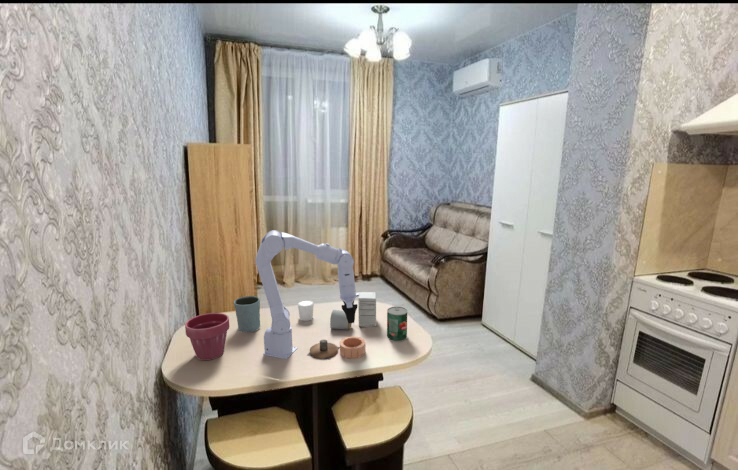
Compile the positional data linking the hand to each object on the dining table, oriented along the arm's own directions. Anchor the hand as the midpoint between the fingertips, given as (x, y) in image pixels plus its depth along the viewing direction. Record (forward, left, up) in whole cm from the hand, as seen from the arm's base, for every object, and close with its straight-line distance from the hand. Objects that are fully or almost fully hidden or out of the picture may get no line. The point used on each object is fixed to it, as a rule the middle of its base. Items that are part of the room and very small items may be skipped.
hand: (350, 318), depth 137 cm
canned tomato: (+15, +12, -11) cm, 22 cm away
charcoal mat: (-7, -8, -11) cm, 15 cm away
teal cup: (-45, 0, -11) cm, 46 cm away
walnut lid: (-7, -8, -10) cm, 15 cm away
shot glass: (-27, +16, -11) cm, 33 cm away
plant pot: (-45, -22, -11) cm, 52 cm away
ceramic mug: (-9, +13, -11) cm, 19 cm away
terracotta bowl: (+3, -5, -11) cm, 12 cm away
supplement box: (0, +20, -11) cm, 22 cm away
